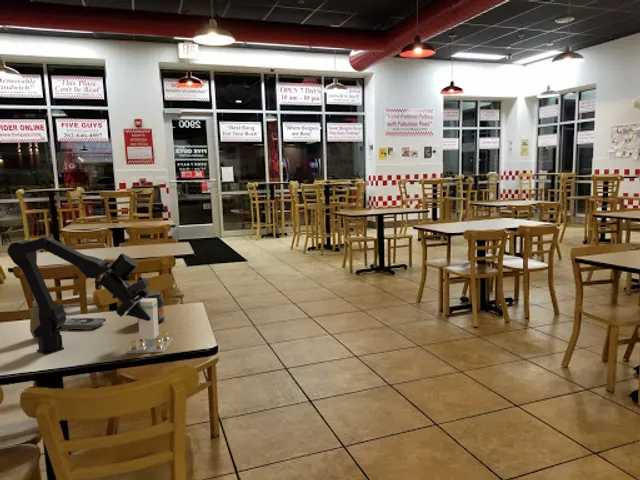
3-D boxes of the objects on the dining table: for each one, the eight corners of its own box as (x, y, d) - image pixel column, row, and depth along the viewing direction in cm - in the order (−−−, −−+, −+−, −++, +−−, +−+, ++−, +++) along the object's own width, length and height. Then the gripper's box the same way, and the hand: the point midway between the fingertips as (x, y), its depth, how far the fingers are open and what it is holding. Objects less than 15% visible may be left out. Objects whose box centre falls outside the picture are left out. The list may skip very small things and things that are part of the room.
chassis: (127, 353, 169) (126, 343, 168) (138, 341, 181) (138, 332, 180) (163, 352, 169) (162, 342, 168) (172, 340, 181) (171, 331, 180)
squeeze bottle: (28, 343, 182) (23, 294, 180) (34, 336, 190) (29, 290, 188) (52, 340, 185) (47, 292, 182) (57, 333, 192) (53, 288, 190)
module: (139, 339, 172) (137, 301, 170) (144, 334, 177) (142, 298, 175) (154, 338, 172) (152, 301, 170) (158, 334, 177) (157, 298, 175)
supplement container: (169, 318, 209) (167, 290, 208) (157, 326, 199) (155, 296, 197) (145, 318, 211) (143, 290, 209) (133, 325, 201) (130, 296, 199)
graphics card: (50, 325, 194) (67, 315, 206) (51, 334, 194) (68, 324, 206) (92, 325, 193) (107, 315, 205) (93, 334, 193) (108, 324, 205)
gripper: (123, 276, 162) (160, 308, 164) (142, 265, 180) (174, 294, 182) (100, 300, 163) (137, 332, 164) (121, 287, 181) (154, 316, 183)
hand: (152, 317), depth 173 cm, fingers closed on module, 5 cm apart
